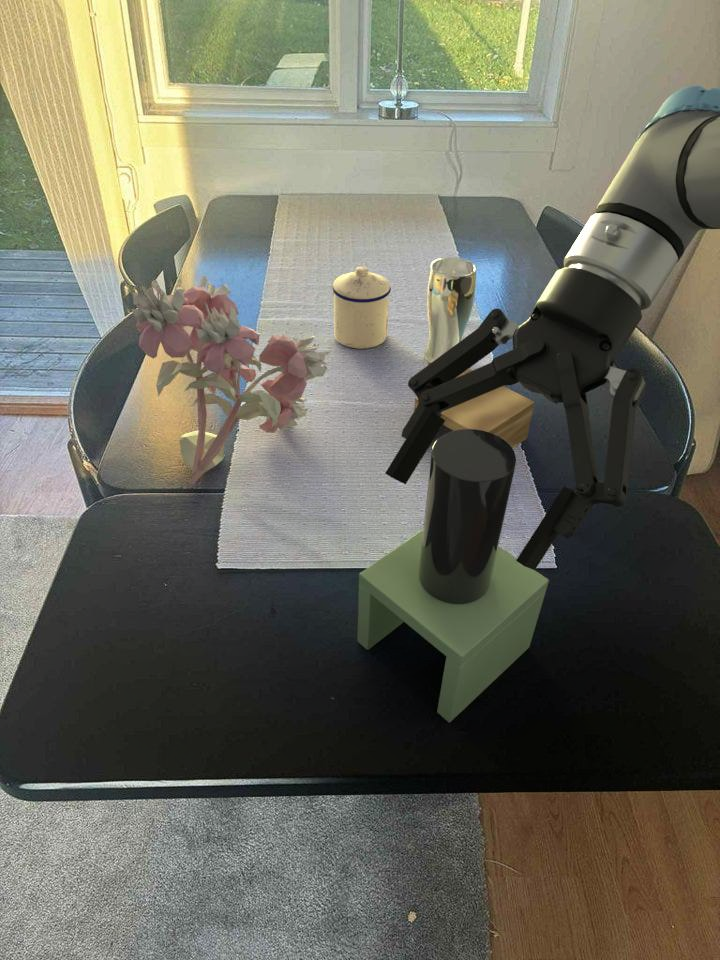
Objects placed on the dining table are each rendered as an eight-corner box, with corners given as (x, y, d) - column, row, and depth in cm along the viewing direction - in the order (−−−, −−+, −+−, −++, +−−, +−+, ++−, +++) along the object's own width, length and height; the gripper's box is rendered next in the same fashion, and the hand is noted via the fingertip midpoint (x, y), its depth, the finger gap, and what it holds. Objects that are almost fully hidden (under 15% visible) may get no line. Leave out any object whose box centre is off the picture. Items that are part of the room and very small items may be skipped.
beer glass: (417, 348, 112) (424, 257, 102) (458, 344, 113) (470, 255, 103) (428, 371, 107) (436, 278, 97) (471, 367, 108) (484, 275, 98)
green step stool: (529, 647, 69) (549, 579, 62) (449, 723, 62) (462, 657, 56) (438, 578, 75) (447, 511, 69) (357, 641, 69) (358, 573, 62)
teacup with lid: (399, 339, 114) (403, 271, 106) (354, 356, 110) (355, 286, 102) (356, 311, 121) (357, 245, 114) (312, 325, 117) (310, 258, 109)
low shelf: (526, 438, 94) (535, 402, 90) (474, 474, 89) (481, 436, 85) (464, 404, 100) (469, 368, 96) (411, 435, 94) (414, 398, 91)
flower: (325, 510, 81) (342, 287, 74) (124, 500, 78) (124, 267, 72) (318, 468, 100) (331, 288, 94) (156, 459, 97) (159, 272, 91)
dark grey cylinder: (505, 578, 62) (533, 455, 53) (458, 617, 59) (480, 493, 50) (450, 539, 66) (468, 418, 57) (403, 574, 62) (414, 451, 53)
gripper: (460, 219, 58) (327, 437, 60) (761, 328, 45) (578, 605, 46) (491, 262, 64) (370, 459, 66) (762, 370, 51) (602, 612, 53)
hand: (455, 520), depth 56 cm, fingers open, 13 cm apart
